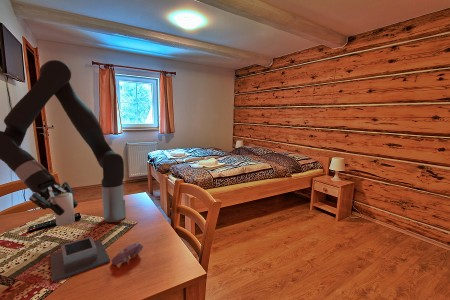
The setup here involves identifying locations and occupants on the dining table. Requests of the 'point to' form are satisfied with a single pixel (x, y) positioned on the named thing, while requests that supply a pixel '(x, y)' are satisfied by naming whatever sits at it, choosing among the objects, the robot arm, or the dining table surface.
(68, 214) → the paper roll
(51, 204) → the robot arm
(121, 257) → the video game controller
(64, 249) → the roll holder
